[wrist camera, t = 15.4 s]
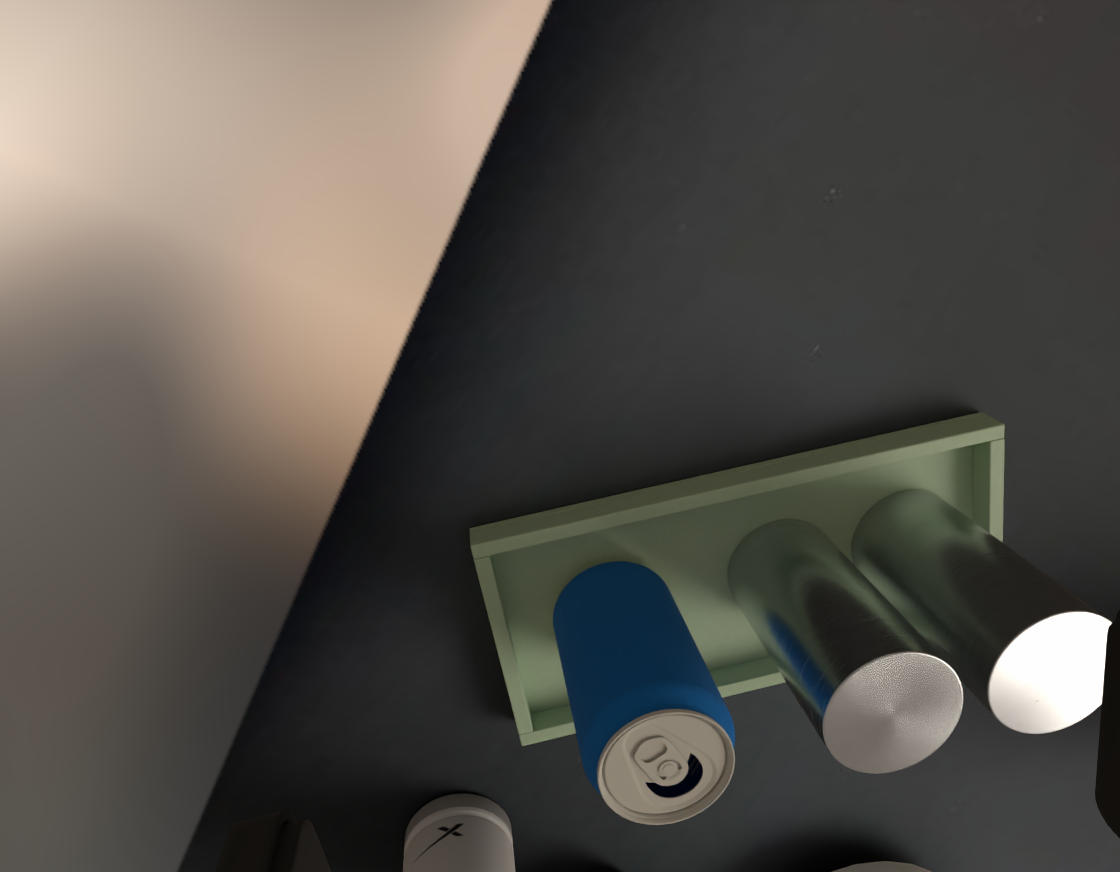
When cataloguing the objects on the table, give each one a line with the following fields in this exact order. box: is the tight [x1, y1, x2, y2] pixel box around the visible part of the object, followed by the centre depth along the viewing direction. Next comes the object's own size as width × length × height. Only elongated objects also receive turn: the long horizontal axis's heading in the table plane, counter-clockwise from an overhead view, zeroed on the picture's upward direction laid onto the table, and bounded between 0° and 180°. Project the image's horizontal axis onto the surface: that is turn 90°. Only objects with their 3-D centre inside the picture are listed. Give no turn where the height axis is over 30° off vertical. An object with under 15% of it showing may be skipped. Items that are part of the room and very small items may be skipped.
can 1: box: [727, 519, 964, 774], centre depth 38 cm, size 6×6×12 cm
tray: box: [469, 412, 1004, 746], centre depth 43 cm, size 13×28×2 cm, turn 101°
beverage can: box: [553, 561, 735, 825], centre depth 38 cm, size 6×6×12 cm
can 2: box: [851, 490, 1112, 734], centre depth 38 cm, size 6×6×12 cm
